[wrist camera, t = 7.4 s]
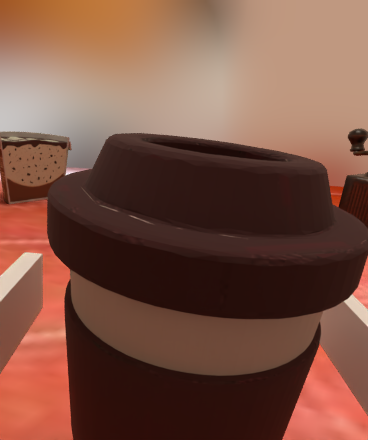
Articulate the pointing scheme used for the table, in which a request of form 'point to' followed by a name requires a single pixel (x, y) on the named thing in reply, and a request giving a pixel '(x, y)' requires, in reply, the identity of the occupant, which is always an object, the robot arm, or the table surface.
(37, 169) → the food container
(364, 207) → the manual coffee grinder
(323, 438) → the table surface
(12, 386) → the table surface
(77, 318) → the coffee cup
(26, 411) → the table surface
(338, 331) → the robot arm
